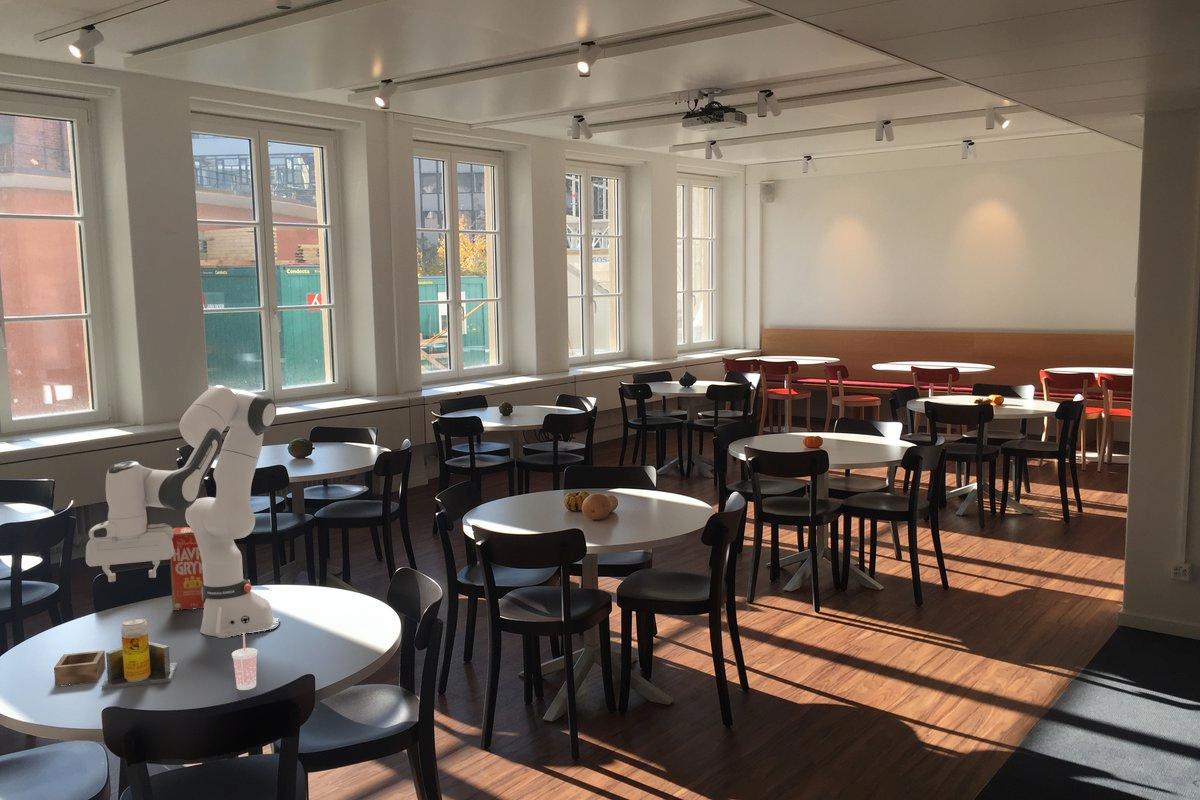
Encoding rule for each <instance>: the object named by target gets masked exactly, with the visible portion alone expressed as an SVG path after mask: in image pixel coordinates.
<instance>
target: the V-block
mask: <svg viewBox="0 0 1200 800" xmlns="http://www.w3.org/2000/svg"><path fill="white" fill-rule="evenodd" d="M149 656H150V671H151V673H150V675H149V677H148V678H147V679H145V680H142V681H137V682H129V681H127V679H125V677H124V663H123V648H122V646H121V647H119V648H116V649H113V650H109V651H107V652H106V653H105V661H106V669H107V670H106V672H107V676H106V678H105V679H104V681H103V683H102V685H101V690H110V689H112V690H113V689H119V688H130V687H138V686H146V685H155V684H156V685H157V684H164V683H171V682H172V679H173V677H174V674H175V672H176V669H177V666H178V662H171V659H170V646H169V645H165V644H162V643H157V642H154V641H153V642H152V641H149Z"/></svg>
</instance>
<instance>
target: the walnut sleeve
mask: <svg viewBox="0 0 1200 800" xmlns="http://www.w3.org/2000/svg"><path fill="white" fill-rule="evenodd" d="M106 669H107V664H106V653H105V650H104V649H103V650H95V651H86V652H75V653H73V652H72V653H66V654H65V653H64V654H63V655H62V656H61V657H60V659H59V660H58V662H56V664H55V665H54V667H53V672H54V685H55V686H58V687H62V686H61V685H67V686H74V685H73V684H76V685H84V684H93V683H98V682H99V681H100V679H101V677H102V676H103V673H104V672H105V671H104V670H106ZM69 684H70V685H69ZM55 686H54V687H55Z"/></svg>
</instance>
